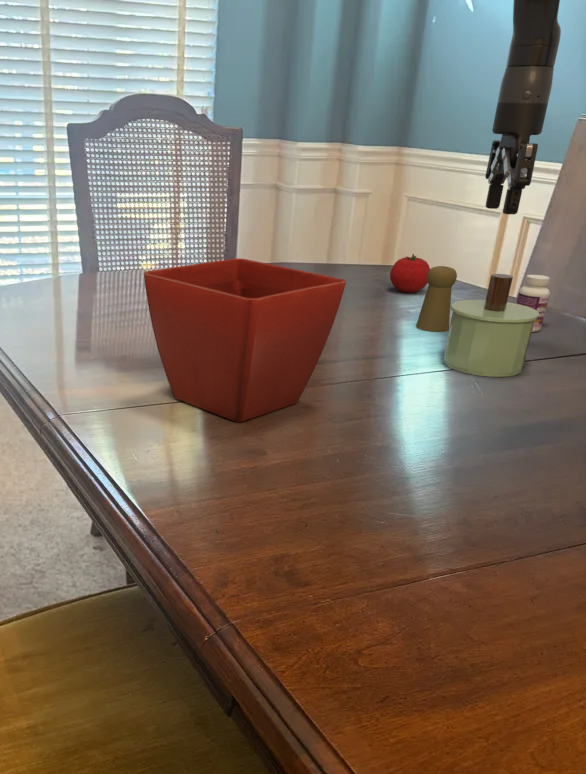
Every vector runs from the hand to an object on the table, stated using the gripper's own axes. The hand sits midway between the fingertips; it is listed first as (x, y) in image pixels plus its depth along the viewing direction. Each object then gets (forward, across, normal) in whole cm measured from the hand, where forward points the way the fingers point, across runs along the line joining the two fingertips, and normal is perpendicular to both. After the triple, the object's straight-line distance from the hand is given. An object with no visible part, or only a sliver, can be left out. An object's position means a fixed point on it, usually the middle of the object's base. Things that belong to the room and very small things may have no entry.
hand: (500, 211), depth 130 cm
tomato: (+21, +38, +3) cm, 44 cm away
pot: (+21, -18, +5) cm, 28 cm away
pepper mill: (+21, +6, +6) cm, 23 cm away
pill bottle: (+22, +7, -12) cm, 25 cm away
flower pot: (+21, -39, +45) cm, 63 cm away
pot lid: (+13, -18, +4) cm, 23 cm away
